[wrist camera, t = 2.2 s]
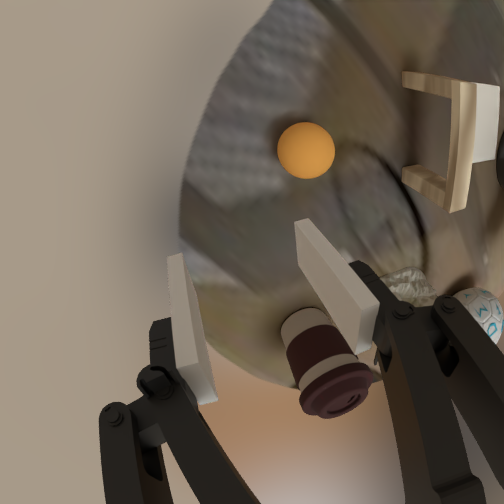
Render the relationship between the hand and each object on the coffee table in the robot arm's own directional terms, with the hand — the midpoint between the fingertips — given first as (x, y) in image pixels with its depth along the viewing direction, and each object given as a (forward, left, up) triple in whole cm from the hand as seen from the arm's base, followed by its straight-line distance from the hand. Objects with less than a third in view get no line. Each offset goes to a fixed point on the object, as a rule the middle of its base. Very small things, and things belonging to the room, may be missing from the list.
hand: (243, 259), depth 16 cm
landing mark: (-41, 0, -17) cm, 44 cm away
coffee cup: (-9, +27, -17) cm, 33 cm away
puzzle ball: (-45, +39, -17) cm, 62 cm away
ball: (-10, 0, -14) cm, 17 cm away
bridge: (-26, 0, -17) cm, 31 cm away
